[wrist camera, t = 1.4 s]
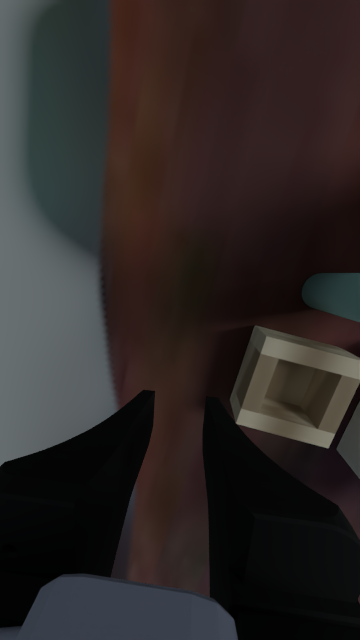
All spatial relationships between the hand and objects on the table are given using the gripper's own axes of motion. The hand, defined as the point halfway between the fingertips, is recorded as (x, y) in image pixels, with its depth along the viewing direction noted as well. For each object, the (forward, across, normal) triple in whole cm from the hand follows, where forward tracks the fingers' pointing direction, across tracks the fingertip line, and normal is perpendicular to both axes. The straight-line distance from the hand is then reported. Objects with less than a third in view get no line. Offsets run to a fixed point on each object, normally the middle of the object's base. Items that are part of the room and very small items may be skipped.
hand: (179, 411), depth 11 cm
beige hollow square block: (+9, -9, +2) cm, 13 cm away
